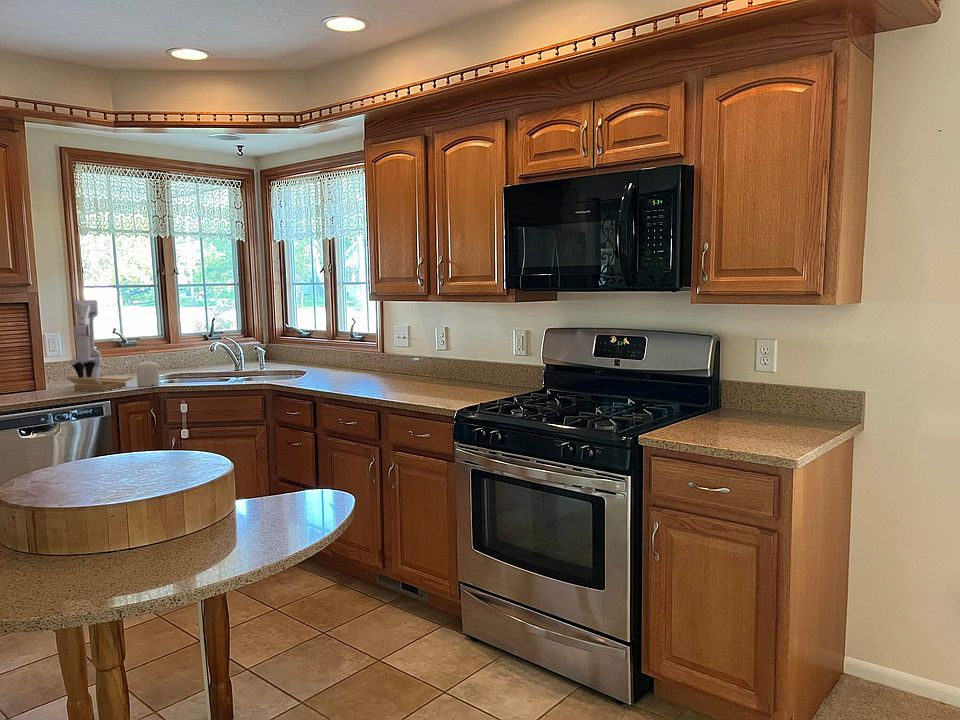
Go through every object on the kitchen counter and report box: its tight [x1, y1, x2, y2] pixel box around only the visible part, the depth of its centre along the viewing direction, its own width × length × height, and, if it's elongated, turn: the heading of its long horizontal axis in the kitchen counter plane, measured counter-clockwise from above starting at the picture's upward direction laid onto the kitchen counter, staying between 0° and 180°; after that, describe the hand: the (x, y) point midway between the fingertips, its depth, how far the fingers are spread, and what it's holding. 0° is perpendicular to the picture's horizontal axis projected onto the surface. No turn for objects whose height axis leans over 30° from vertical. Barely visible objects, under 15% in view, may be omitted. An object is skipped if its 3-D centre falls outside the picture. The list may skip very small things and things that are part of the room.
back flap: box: [98, 374, 134, 382], centre depth 375 cm, size 17×6×1 cm, turn 71°
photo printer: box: [136, 361, 160, 387], centre depth 376 cm, size 10×4×12 cm, turn 123°
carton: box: [73, 380, 127, 392], centre depth 366 cm, size 18×14×3 cm
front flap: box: [66, 375, 102, 385], centre depth 356 cm, size 17×6×1 cm
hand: (85, 377), depth 357 cm, fingers open, 4 cm apart
